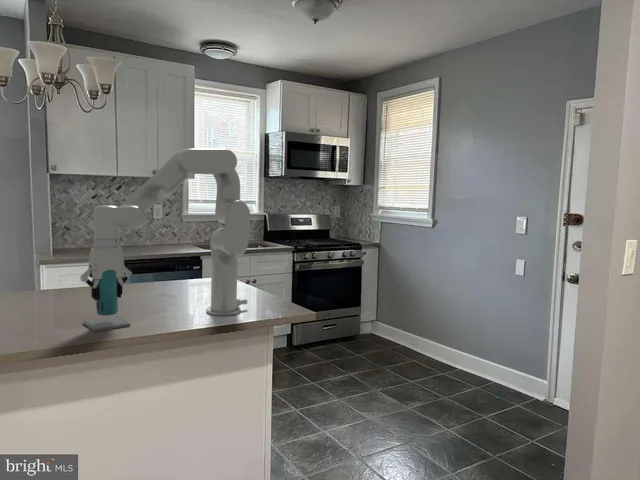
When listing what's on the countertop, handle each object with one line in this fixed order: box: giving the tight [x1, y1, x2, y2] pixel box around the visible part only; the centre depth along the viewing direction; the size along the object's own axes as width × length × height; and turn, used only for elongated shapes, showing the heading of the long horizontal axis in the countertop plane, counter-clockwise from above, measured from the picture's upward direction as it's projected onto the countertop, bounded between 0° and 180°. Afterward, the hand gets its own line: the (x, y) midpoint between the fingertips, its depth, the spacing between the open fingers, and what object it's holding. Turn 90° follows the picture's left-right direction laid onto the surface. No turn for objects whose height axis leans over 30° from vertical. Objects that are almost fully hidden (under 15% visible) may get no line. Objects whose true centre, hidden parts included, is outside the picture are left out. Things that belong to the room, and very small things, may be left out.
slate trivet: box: [82, 315, 131, 333], centre depth 153 cm, size 11×11×1 cm
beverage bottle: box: [95, 270, 119, 317], centre depth 152 cm, size 6×7×20 cm
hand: (107, 297), depth 153 cm, fingers closed on beverage bottle, 6 cm apart
